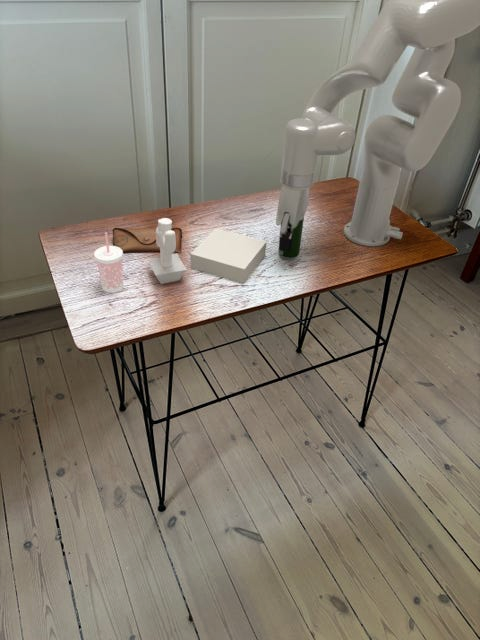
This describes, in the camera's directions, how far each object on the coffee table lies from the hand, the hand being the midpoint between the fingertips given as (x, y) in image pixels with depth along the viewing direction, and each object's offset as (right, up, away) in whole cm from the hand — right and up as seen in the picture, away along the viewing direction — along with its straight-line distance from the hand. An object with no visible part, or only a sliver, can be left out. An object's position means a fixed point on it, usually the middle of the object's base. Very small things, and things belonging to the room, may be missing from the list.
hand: (289, 244), depth 128 cm
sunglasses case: (-36, 0, +3) cm, 36 cm away
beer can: (0, -2, +2) cm, 3 cm away
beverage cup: (-41, -12, -12) cm, 45 cm away
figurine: (-30, -9, -8) cm, 32 cm away
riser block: (-15, -4, -1) cm, 16 cm away
